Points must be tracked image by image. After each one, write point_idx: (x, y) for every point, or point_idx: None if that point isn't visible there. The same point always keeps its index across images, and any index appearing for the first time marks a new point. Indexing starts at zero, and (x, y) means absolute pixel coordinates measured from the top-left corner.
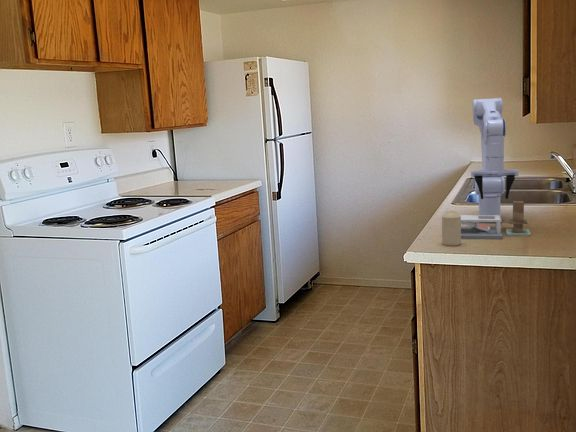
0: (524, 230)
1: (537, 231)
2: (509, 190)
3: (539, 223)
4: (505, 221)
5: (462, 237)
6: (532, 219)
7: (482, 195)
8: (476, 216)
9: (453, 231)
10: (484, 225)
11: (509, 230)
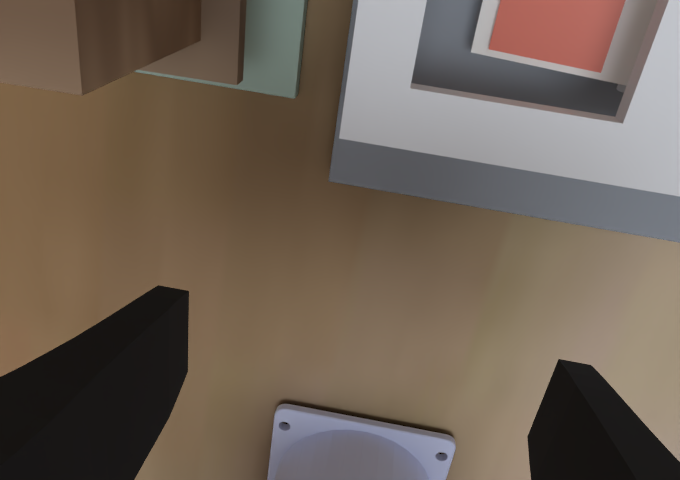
0: None
1: None
2: (50, 353)
3: (17, 334)
4: (246, 434)
5: None
6: None
7: (593, 394)
8: (662, 93)
9: None
10: (540, 25)
11: (267, 36)
